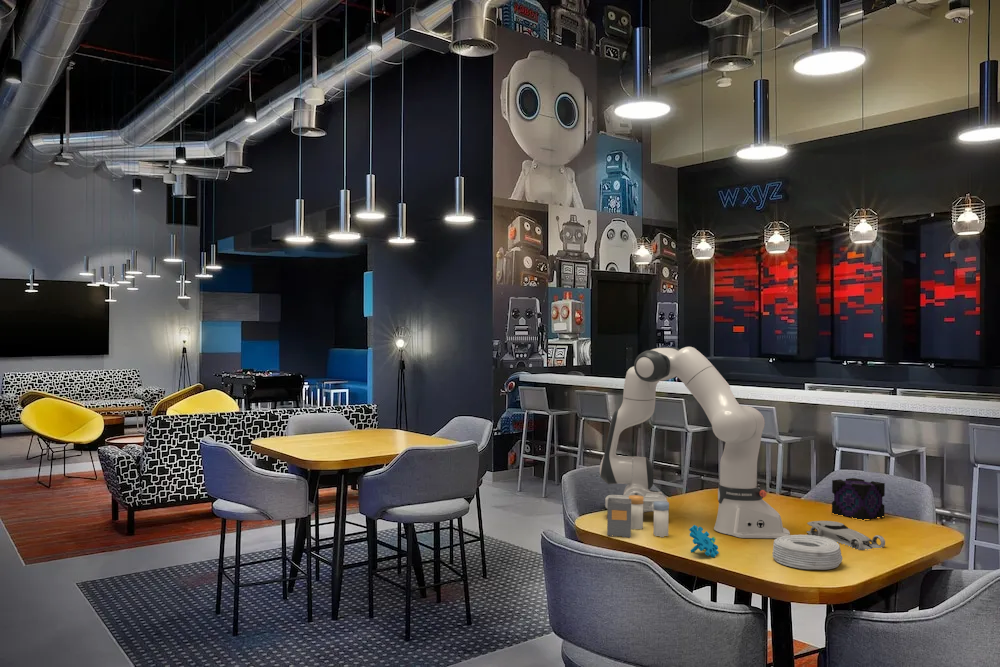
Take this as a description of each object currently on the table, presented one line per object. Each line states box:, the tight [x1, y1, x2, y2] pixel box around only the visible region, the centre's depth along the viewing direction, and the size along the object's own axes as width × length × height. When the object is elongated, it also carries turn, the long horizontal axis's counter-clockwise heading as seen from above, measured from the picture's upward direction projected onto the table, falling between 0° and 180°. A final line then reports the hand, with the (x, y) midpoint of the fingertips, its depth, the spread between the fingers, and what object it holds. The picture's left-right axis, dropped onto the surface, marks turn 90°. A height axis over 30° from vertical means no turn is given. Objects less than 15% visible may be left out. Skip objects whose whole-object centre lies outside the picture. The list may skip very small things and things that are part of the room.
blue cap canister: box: [652, 501, 670, 538], centre depth 236 cm, size 5×5×10 cm
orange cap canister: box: [629, 495, 644, 530], centre depth 245 cm, size 5×5×10 cm
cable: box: [772, 534, 843, 570], centre depth 208 cm, size 18×18×6 cm
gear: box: [688, 524, 720, 558], centre depth 216 cm, size 11×6×10 cm
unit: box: [606, 498, 632, 538], centre depth 237 cm, size 7×9×10 cm
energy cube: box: [831, 477, 886, 520], centre depth 271 cm, size 12×12×12 cm
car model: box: [806, 520, 886, 551], centre depth 235 cm, size 11×24×5 cm, turn 23°
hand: (636, 507), depth 250 cm, fingers open, 8 cm apart
